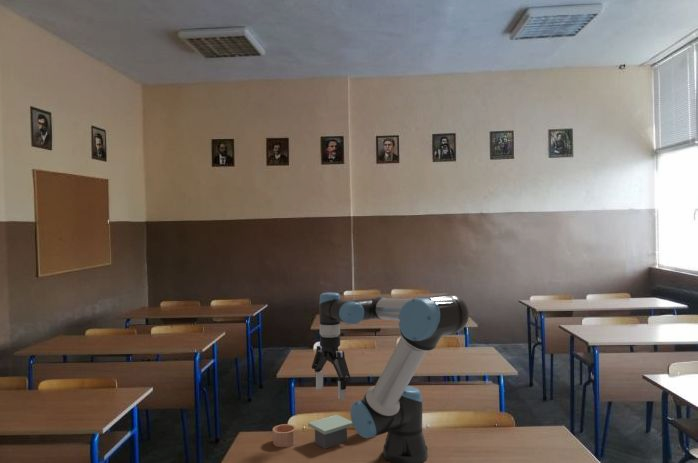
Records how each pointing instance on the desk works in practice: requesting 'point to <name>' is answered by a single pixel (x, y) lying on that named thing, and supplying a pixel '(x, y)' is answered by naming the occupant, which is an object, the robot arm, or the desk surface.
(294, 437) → the pink ceramic pot
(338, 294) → the robot arm
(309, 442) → the desk surface
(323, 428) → the lid
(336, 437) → the dark grey rectangular block
